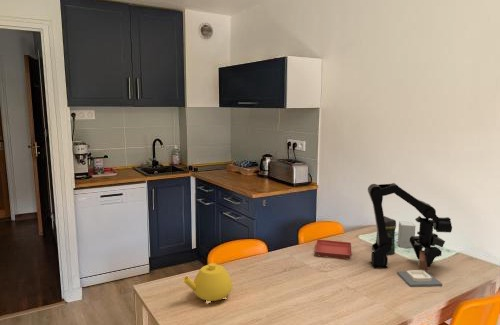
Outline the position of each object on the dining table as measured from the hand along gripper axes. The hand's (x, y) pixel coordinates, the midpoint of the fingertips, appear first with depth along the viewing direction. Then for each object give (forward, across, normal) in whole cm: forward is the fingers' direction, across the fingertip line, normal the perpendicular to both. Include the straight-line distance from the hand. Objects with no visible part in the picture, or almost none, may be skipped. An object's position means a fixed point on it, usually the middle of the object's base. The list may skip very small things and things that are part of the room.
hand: (423, 263), depth 180 cm
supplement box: (+3, +29, -5) cm, 30 cm away
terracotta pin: (+3, 0, 0) cm, 3 cm away
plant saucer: (+3, +22, +37) cm, 43 cm away
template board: (+2, -12, +8) cm, 14 cm away
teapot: (+3, -23, +100) cm, 103 cm away
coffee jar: (+3, +21, +10) cm, 23 cm away
